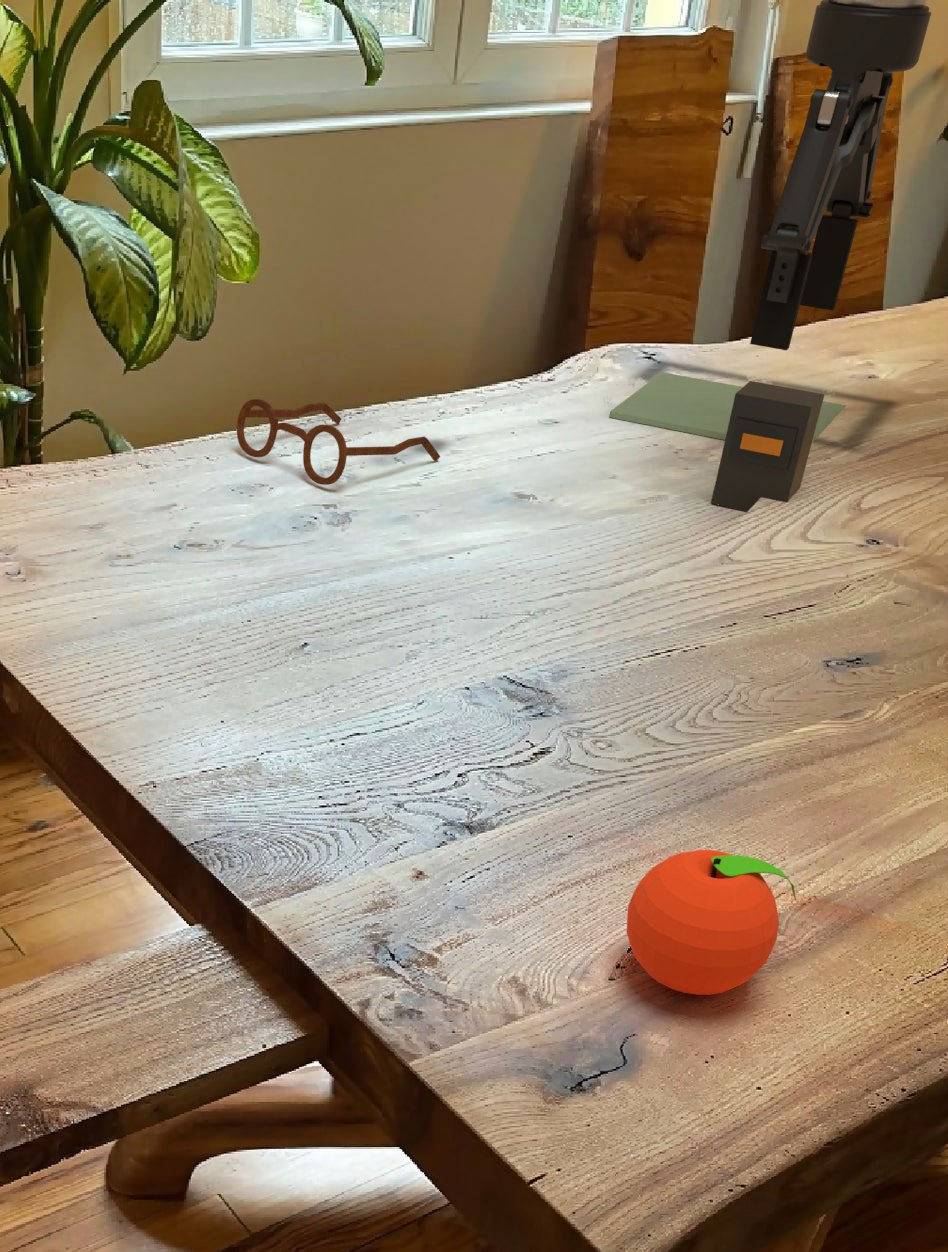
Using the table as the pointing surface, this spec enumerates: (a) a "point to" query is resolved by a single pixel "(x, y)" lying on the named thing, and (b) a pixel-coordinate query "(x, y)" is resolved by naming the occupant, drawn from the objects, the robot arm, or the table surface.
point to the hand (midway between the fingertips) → (793, 326)
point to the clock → (766, 444)
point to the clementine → (704, 920)
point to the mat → (694, 406)
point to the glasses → (309, 437)
